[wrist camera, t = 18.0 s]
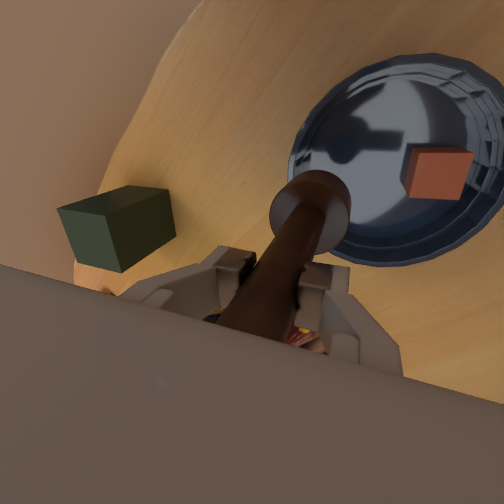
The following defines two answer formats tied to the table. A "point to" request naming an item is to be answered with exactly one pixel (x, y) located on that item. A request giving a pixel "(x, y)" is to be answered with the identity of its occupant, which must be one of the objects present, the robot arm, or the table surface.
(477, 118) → the bowl
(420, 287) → the table surface
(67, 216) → the stand
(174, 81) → the table surface
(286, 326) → the masher with cylindrical head
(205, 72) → the table surface
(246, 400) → the robot arm
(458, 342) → the table surface
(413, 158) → the terracotta block
